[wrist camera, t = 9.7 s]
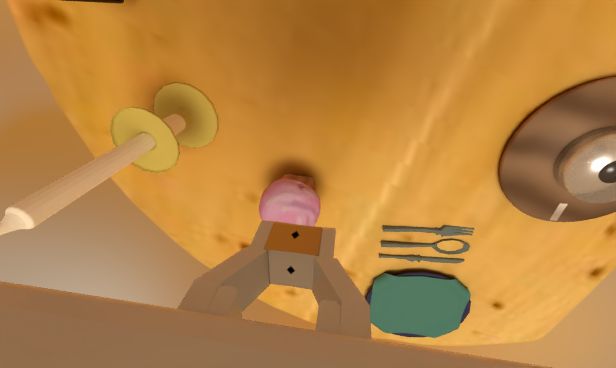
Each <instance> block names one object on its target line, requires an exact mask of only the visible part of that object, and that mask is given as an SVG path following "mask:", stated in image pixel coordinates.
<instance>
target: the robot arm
mask: <svg viewBox="0 0 616 368" xmlns="http://www.w3.org/2000/svg"><path fill="white" fill-rule="evenodd" d="M335 233H336V229H335V228H327V227H315V226H306V225H297V224H290V223H283V222H276V221H275V222H274V221H267V220H263V221H262V222H261V223H260V225H259V228H258V230H257V232H256V234H255V236H254V239H253V241H252V243H251V245H250V247H245V248H244V249H242V250H241V251H239V252H238V253H236V254H234V255H233V256H231V257H230V258H228V259H227V260H225V261H224V262H222V263H220V264H219V265H217V266H216V267H214V268H213V269H211V270H210V271H208V272H206V273H205V274H203V275H202V276H200V277H199V278H197V279H195V280H194V282H193V284H192V285H191V287H190V289H189V290H188V292H187V293H186V295H185V297H184V298H183V300H182V302H181V304H180V305H179V307H178V308H177V309H174V308H168V307H162V306H155V305H149V304H142V303H136V302H130V301H123V300H117V299H110V298H104V297H98V296H91V295H85V294H79V293H72V292H66V291H59V290H53V289H46V288H40V287H33V286H27V285H21V284H14V283H7V282H2V281H0V368H551V367H544V366H537V365H532V364H525V363H519V362H513V361H506V360H500V359H493V358H487V357H481V356H474V355H468V354H461V353H455V352H448V351H443V350H436V349H430V348H423V347H417V346H411V345H404V344H398V343H392V342H385V341H379V340H373V339H371V322H370V305H369V304H368V303H367V301H366V300H365V298H364V297H363V295H362V294H361V292H360V291H359V290H358V288H357V287H356V285H355V284H354V282H353V281H352V280H351V278H350V277H349V275H348V274H347V272H346V271H345V270H344V268H343V267H342V265H341V264H340V262H339V261H338V259H335V258H333V256H334V245H335ZM269 284H277V285H285V286H293V287H299V288H305V289H311V290H312V291H313V294H314V296H315V298H316V300H317V303H318V305H319V309H318V316H317V324H316V331H314V330H308V329H302V328H295V327H289V326H282V325H276V324H270V323H263V322H257V321H251V320H245V319H242V313H241V312H242V311H243V310H245V308H246V307H247V306H249V305H250V304H251V303H252V302H253V301H254V300H255V299H256V298H257V297H258V296H259V295H260V294H261V293H262V292H263V291H264V290H265V289H266V288H267V287H268V286H269Z"/></svg>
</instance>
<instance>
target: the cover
mask: <svg viewBox="0 0 616 368" xmlns="http://www.w3.org/2000/svg"><path fill="white" fill-rule="evenodd" d="M553 174H554V177H555V179H556V181H557V182H558V183H559V184H560V185H561V186H562V187H564V188H565V189H566V190H567V191H569V192H570V193H571V194H572V195H573V196H575V197H576V198H578V199H580V200H582V201H585V202H590V203H606V202H612V201H616V126H607V127H601V128H598V129H594V130H591V131H589V132H586V133H584V134H582V135H580V136H579V137H577V138H575V139H574V140H572V141H571V142H570V143H569V144H567V145H566V146H565V147H564V148H563V149H562V151H561V152H560V153H559V155H558V156H557V158H556V160H555V163H554V166H553Z"/></svg>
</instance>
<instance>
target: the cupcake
mask: <svg viewBox="0 0 616 368" xmlns="http://www.w3.org/2000/svg"><path fill="white" fill-rule="evenodd" d="M259 213H260V217H261V219H262V220H267V221H274V222H275V221H276V222H283V223H290V224H297V225H306V226H314V225H315V223H316V221H317V219H318V217H319V214H320V199H319V197H318V195H317V194H316V192H315V182H314V180H313V179H312V178H311V177H308V176H300V175H294V174H286V175H284V176H283V177H282V178H281V179H278V180H275V181H274V182H272V183H271V184H270V185H269V186H268V187H267V188H266V189H265V191H264V192H263V194H262V197H261V201H260V205H259Z"/></svg>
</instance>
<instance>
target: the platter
mask: <svg viewBox="0 0 616 368" xmlns="http://www.w3.org/2000/svg"><path fill="white" fill-rule="evenodd" d="M607 126H616V76H615V77H609V78H604V79H600V80H596V81H593V82H589V83H586V84H583V85H581V86H578V87H576V88H574V89H571V90H569V91H567V92H565V93H563V94H561V95H560V96H558V97H556V98H554V99H553V100H551V101H550V102H548V103H547V104H545V105H544V106H542V107H541V108H540V109H539V110H537V111H536V112H535V113H533V114H532V115H531V116H530V117H529V118H528V119H527V120H526V121H525V122H524V123H523V124H522V125H521V126H520V128H519V129H518V130H517V131H516V132H515V134H514V135H513V137H512V138H511V139H510V141H509V143H508V145H507V147H506V148H505V150H504V153H503V156H502V159H501V163H500V168H499V178H500V184H501V187H502V190H503V192H504V194H505V195H506V197H507V198H508V199H509V200H510V202H511V203H512V204H513V205H514V206H515V207H516V208H517V209H519V210H520V211H522V212H523V213H525V214H527V215H529V216H532V217H534V218H538V219H541V220H546V221H553V222H574V221H583V220H588V219H593V218H597V217H601V216H605V215H608V214H611V213H614V212H616V201H612V202H606V203H590V202H585V201H582V200H580V199H578V198H576V197H575V196H573V195H572V194H571V193H570V192H569V191H567V190H566V189H565V188H564V187H562V186H561V185H560V184H559V183H558V182H557V181H556V179H555V177H554V174H553V166H554V163H555V160H556V158H557V156H558V155H559V153H560V152H561V151H562V149H563V148H564V147H565V146H566V145H567V144H569V143H570V142H571V141H572V140H574V139H575V138H577V137H579V136H580V135H582V134H584V133H586V132H589V131H591V130H594V129H598V128H601V127H607Z"/></svg>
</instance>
